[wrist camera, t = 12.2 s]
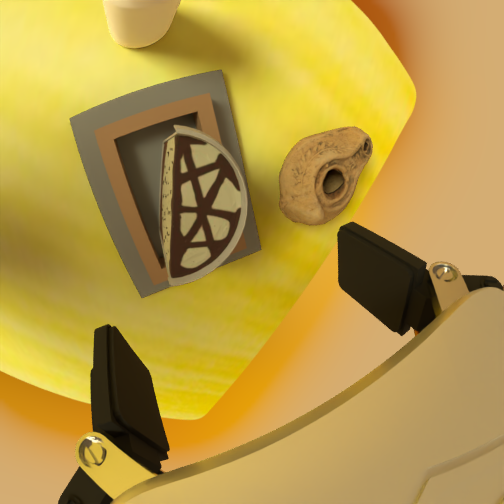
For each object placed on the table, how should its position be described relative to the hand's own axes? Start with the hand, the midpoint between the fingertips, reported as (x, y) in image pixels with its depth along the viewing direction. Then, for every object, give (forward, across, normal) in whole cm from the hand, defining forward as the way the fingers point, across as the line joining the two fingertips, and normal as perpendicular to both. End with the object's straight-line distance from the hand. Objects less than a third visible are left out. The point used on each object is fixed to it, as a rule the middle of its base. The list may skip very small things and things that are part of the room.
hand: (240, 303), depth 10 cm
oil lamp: (+21, -18, +3) cm, 28 cm away
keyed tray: (+21, 0, 0) cm, 21 cm away
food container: (+20, -2, +1) cm, 21 cm away
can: (+22, -1, -19) cm, 29 cm away
